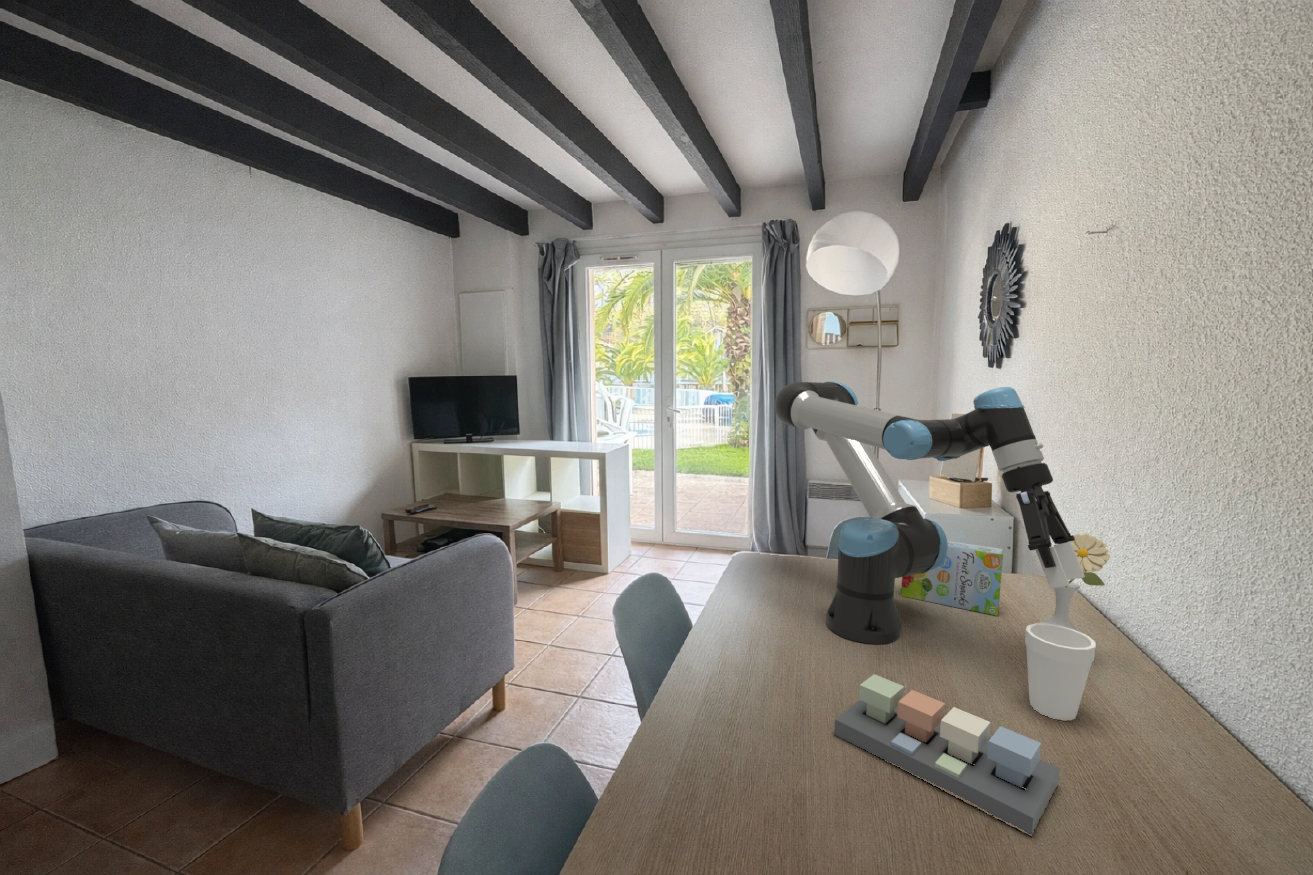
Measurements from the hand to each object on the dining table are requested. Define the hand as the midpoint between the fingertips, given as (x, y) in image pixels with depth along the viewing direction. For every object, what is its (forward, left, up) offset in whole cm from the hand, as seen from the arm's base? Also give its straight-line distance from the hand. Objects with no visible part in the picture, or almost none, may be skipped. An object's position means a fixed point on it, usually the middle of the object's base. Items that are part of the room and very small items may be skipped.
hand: (1068, 582), depth 99 cm
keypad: (-7, -36, -19) cm, 42 cm away
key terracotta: (-10, -36, -17) cm, 41 cm away
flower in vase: (-3, +18, -20) cm, 27 cm away
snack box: (-28, +26, -20) cm, 43 cm away
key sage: (-16, -36, -17) cm, 43 cm away
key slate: (+2, -36, -17) cm, 40 cm away
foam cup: (+1, -9, -20) cm, 22 cm away
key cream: (-4, -36, -17) cm, 40 cm away
